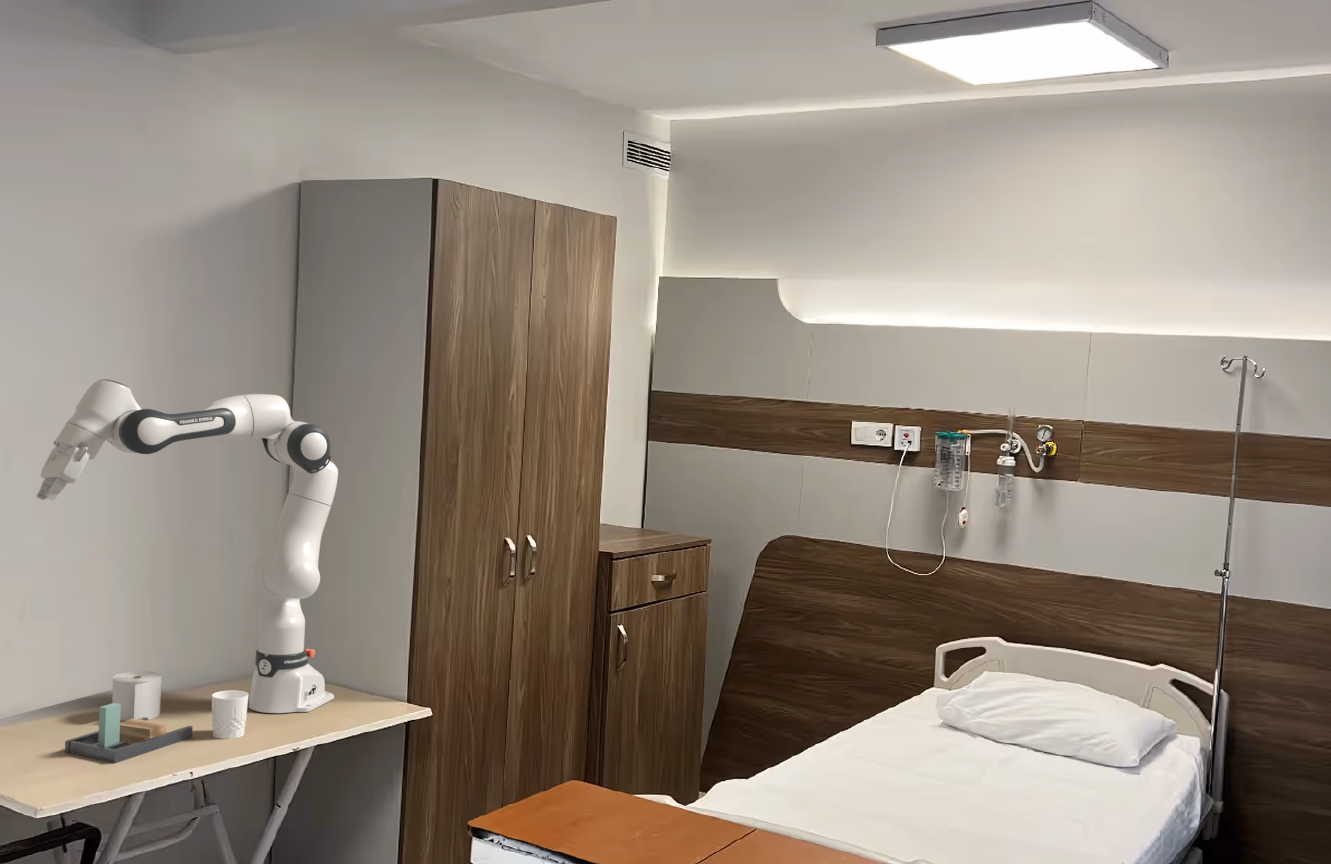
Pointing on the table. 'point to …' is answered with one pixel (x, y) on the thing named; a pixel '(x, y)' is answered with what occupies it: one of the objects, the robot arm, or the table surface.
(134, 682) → the toilet tissue
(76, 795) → the table surface
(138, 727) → the offcut stack
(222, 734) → the white cup
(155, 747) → the tray
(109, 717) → the sage board
